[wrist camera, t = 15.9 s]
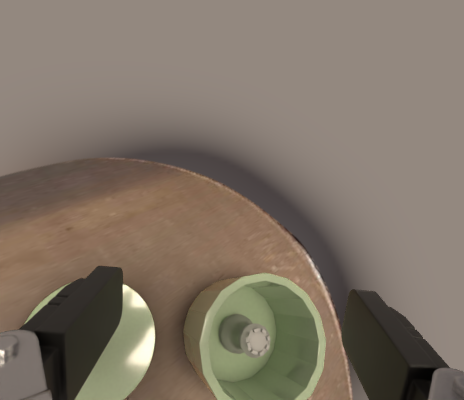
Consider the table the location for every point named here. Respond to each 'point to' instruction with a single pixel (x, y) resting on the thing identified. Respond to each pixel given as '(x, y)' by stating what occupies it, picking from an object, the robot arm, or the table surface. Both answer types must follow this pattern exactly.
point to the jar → (280, 331)
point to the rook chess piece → (244, 336)
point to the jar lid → (120, 351)
